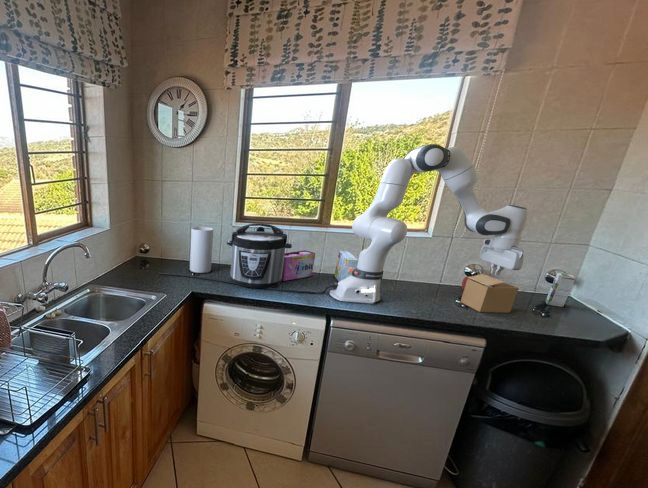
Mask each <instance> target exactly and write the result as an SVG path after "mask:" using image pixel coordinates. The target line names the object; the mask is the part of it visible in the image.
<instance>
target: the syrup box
mask: <svg viewBox="0 0 648 488" xmlns="http://www.w3.org/2000/svg"><path fill="white" fill-rule="evenodd" d="M575 282H576V276H575V275H574V274H570V273H565V272H564V273H563V272H556V275H555V277H554V280H553V282H552V284H551V287H550V288H549V291H548V294H547V296H546V298H545V300H544V301H545V303H546V305H547V306H552V307H553V306H554V307H559V308H564V306H565V304H566V302H567V299H568V297H569V296H570V292H571V290H572V288H573V285H574V283H575Z"/></svg>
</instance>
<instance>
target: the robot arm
mask: <svg viewBox="0 0 648 488" xmlns="http://www.w3.org/2000/svg"><path fill="white" fill-rule="evenodd" d="M433 171H437V172H438V173H439V174H440V176H441V178H442V180H443V182H444V184H445V185H446V187H447V188H448V189H449V190H450V191H451V192H452V194H453V195H454V196H455V197H456V199H457V201H458V203H459V205H460V207H461V209H462V211H463V215H464V226H465V229H466V230H468V231H469V232H473V233H476V234H478V235H481V236H485V237H486V236H487V237H488V236H493V237H491V238H485V239H484V240H483V243H482V244H483V245H482V246H481V249H480V252H479V256H478V257H479V260H481V261H483V262H487V263H489V264H490V268H491V271H490V274H491V275H493V276H500V275H501V273H502V272H503V271H504V270H505V269H507V270H510V271H520V270H521V269H522V267H523V265H524V260H525V252H524V250H523V248H522V247H519V246H520V243H521V240H522V233H523V231H524V230H525V228H526V226H527V223H528V219H529V209H528V208H526V207H524V206H520V205H514V204H508V205H506V206H504V207H502V208H499V209H496V210H492V211H489V210H487V209H485V208H484V207H483V206H482V205H481V203H480V200H479V198H478V197H477V195H476V192H475V187H476V185H477V184H478V182H479V180H480V179H479V173H478V171H477V169H476V167H475V165H474V163H473V161H472V159H471V158H470V157H469V155H468V154H467V153H466V152H465V151H464V150H463V149H462V148H461V147H460V146H451V147H447V148H446V147H444V146H443V145H439V144H436V143H431V144H424V145H420V146H418V147H414V148H413V149H411V150H410V151H408V152H407V153H406V155H405V156H403V157H402V158H395V159H392V160H391V161H390V162H389V163H388V164H387V166H386V168H385V169H384V172H383V174H382V176H381V178H380V181H379V184H378V187H377V190H376V192H375V196H374V198H373V200H372V202H371V204H370V205H369V206H368V207H367V209H365V211H364V212H363V213H361V214H359V215H358V216H356V217H355V219H354V220H353V221H352V225H351V229H352V230H351V231H352V232H353V234H354V235H357V236H358V237H361V238H362V239H367V240H371V243H370V245H369V246H368V247H365V248H364V249H362V250H361V251H360V252H359V255H358V258H357V259H358V264H357V267H356V268H355V269H353V268H349V269H348V271H349V272H352V275H350V276H349V277H347V278H345V279H343V280H341V281H337V282H336V281H333V282H332V284H331V285H328V286H326V287H325V288H324V290H322V291H319V292H318V291H312V290H310V291H309V290H298V289H297V290H296V289H286V288H285V289H284V288H276V287H270V288H269V287H268V288H262V289H263V290H270V291H279V292H280V291H281V292H288V293H301V294H312V295H314V294H315V295H316V294H317V295H319V294H324V293H326V292H327V290H328V289H330V288H332V290H330V291H329V295H330V296H331V297H332V298H333V299H335V300H337V301H339V302H349V303H358V304H359V303H360V304H361V303H362V304H373V305H374V304H376V302H379V301H381V282H382V280H383V277H384V267H385V263H386V260H387V256H388V255H389V252H390V251H391V250H392V249H393V247H394V246H395V245H397V244H399V243H401V242H402V241H403V240H405V238H406V236H407V234H408V225H407V224H406V222H404V221H402V220H400V219H397V218H393V217H387V216H388V215H389V214H390V212H392V211H393V210H394V209H396V208H398V207H400V206H401V205H402V203H403V201H404V198H405V195H406V192H407V190H408V187H409V183H410V180H411V178H412V177H413V176H414V175H415V174H416V173H417V174H418V173H419V174H421V173H423V174H424V173H428V172H433ZM158 274H159V275H162V276H163V275H164V276H175V277H176V276H178V277H186V278H195V279H202V280H208V281H215V282H222V283H226V284H232V285H237V284H236V283H234V282H233V281H230V280H224V279H219V278H213V277H207V276H206V277H205V276H199V275H190V274H182V273H169V272H158Z"/></svg>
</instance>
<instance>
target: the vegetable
mask: <svg viewBox="0 0 648 488" xmlns="http://www.w3.org/2000/svg"><path fill="white" fill-rule="evenodd" d="M476 275H480V272H477V273H476ZM468 277H471V275H468V276H465V277H464V278H463V279H462V282H461V290H462V291H463V292H464V288H465V285H466V282H467V279H469V278H468Z"/></svg>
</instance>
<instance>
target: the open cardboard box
mask: <svg viewBox="0 0 648 488" xmlns="http://www.w3.org/2000/svg"><path fill="white" fill-rule="evenodd" d="M519 289H520V288H519V287H517V286H515V285H512V284H509V283H506V282H504V283H502V284H497V285H493V286H491V287H487V286H486V285H484V284H481V283H479V282H477V281H474V280H472V279H467V282H466V285H465V288H464V291H463V292H462V295H461V299H460V303H461V304H463V305H465V306H467V307H469V308H471V309H473V310H474V311H477V312H479V313H507V314H510V313H511V311H512V309H513V306H514V303H515V301H516V297H517V294H518V292H519Z"/></svg>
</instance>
